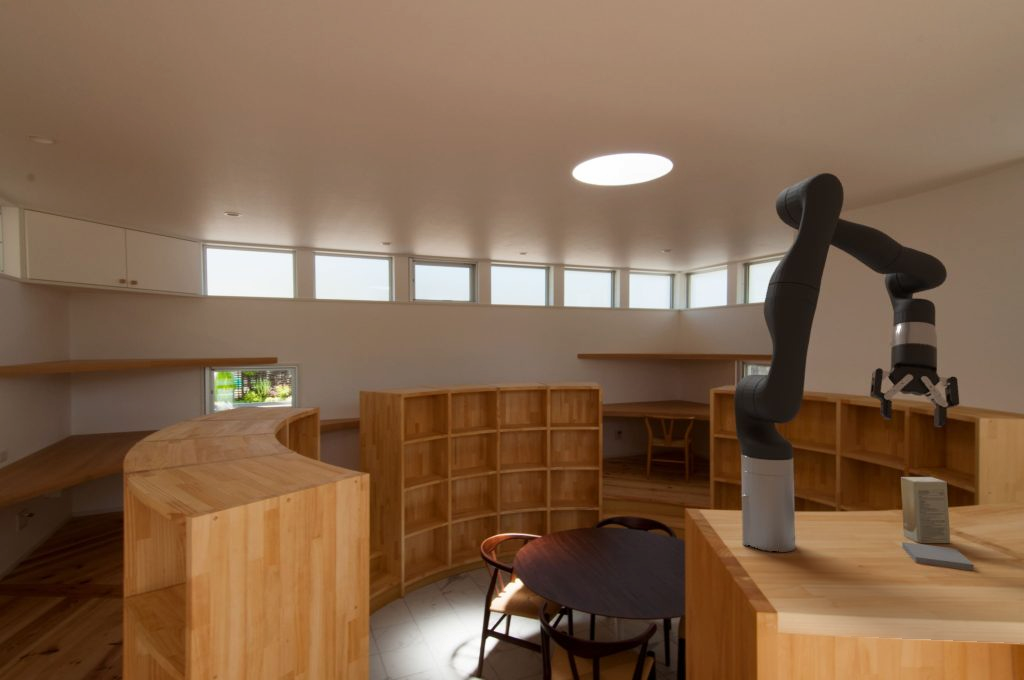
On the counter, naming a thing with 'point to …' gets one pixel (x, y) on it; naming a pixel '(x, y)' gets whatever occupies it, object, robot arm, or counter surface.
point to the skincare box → (925, 509)
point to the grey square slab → (937, 556)
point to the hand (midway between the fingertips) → (912, 422)
